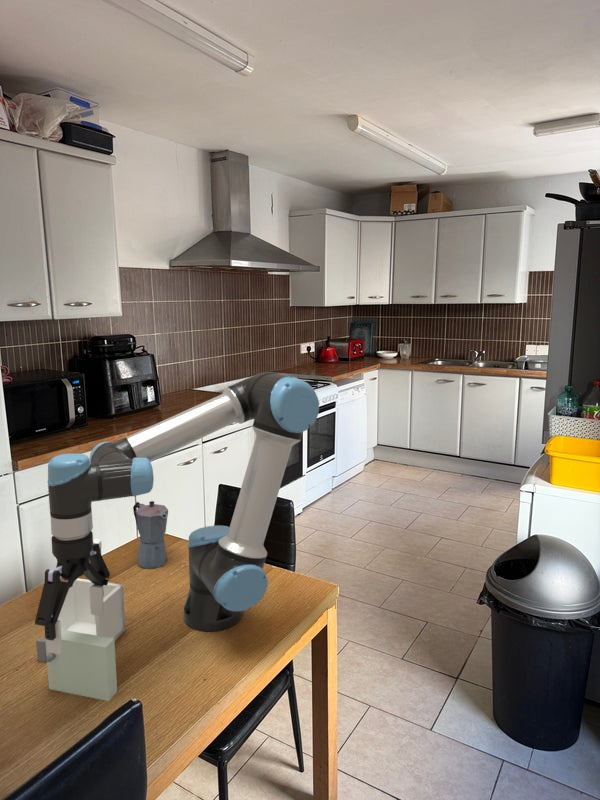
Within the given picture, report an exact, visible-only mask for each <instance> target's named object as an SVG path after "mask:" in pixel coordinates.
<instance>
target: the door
mask: <svg viewBox="0 0 600 800" xmlns="http://www.w3.org/2000/svg"><path fill="white" fill-rule="evenodd" d="M61 638H62V653H61V654H55V653H50V652H47V639H46V638H45V637H44V639H45V644H46V661H47V662H46V667H47V677H48V678H47V679H48V689H49V690H51V691H58V692H62V693H67V694H71V695H77V696H80V697H81V696H82V697H87V698H92V699H95V700H101V701H106V702H110V701H111V700H112V698H113V697H114V696H115V694H116V693H117V692H118V684H117V683H118V682H117V680H118V679H117V663H116V662H117V661H116V647H115V646H116V643H115V642H116V641H115V642H114V639H113V638H108V637H102V636H96V635H91V634H85V633H79V632H73V631H68V630H62V629H61Z"/></svg>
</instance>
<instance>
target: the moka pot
mask: <svg viewBox="0 0 600 800" xmlns="http://www.w3.org/2000/svg"><path fill="white" fill-rule="evenodd" d="M132 511H133V515H134V518H135V521H136V522H135V523H136V527H137V528H136V529H137V531H138V533H139V534H138V535H139V538H140V540H139V546H138V556H137V565H138V566H139V567H141V568H143V569H148V568H150V569H151V568H154V569H157V568H161V567H163V566H165V565H166V564H167V562H168V555H167V550H166V542H165V534H166V531H167V525H168V524H167V523H168V516H169V510H168V508H167V506H166V505H163V504H157V503H155V501H154V500H151V501H149V504H144V503H140V502H139V501H136V502H135V504H134V505H133V507H132Z"/></svg>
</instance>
